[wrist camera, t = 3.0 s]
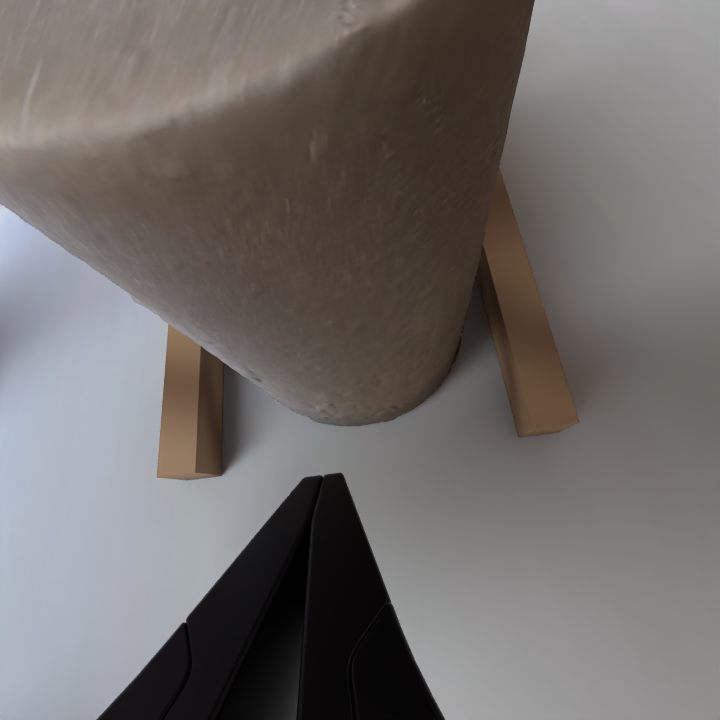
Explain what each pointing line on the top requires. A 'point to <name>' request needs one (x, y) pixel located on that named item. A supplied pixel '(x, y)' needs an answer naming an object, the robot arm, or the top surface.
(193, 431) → the channel
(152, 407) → the top surface
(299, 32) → the pillar candle
